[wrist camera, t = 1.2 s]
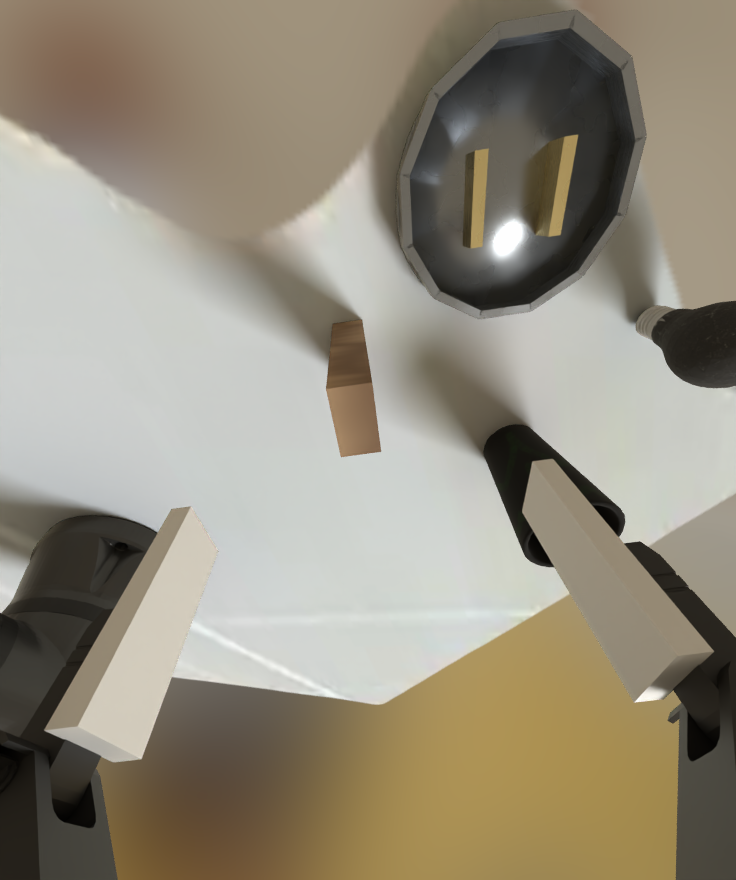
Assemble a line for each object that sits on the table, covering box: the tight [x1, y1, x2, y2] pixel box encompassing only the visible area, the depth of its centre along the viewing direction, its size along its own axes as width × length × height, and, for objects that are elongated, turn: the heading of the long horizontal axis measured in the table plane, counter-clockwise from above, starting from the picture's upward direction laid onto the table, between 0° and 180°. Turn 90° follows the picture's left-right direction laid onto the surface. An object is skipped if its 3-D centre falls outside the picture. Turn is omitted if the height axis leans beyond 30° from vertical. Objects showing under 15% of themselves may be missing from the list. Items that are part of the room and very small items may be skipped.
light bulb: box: [636, 301, 736, 388], centre depth 24 cm, size 6×6×10 cm
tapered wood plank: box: [326, 320, 381, 457], centre depth 23 cm, size 2×4×12 cm, turn 7°
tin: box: [396, 10, 646, 319], centre depth 22 cm, size 15×15×3 cm
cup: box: [484, 425, 625, 567], centre depth 30 cm, size 8×8×12 cm
